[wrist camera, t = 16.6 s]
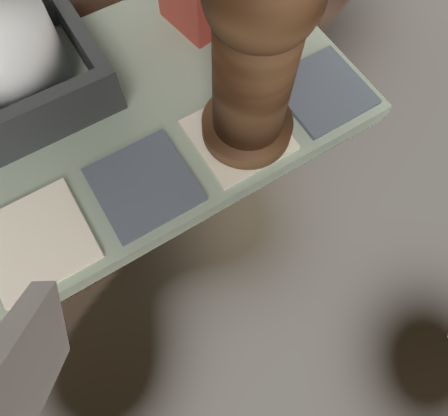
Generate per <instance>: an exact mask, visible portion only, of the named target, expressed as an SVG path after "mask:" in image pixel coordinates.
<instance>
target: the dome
mask: <svg viewBox="0 0 448 416" xmlns="http://www.w3.org/2000/svg"><path fill="white" fill-rule="evenodd" d="M69 73H70V61H69V57H68V55H67V53H66V51H65V49H64V46H63V44H62V42H61V40H60V38H59V36H58V34H57V32H56V29H55V27H54V25H53V23H52V21H51V19H50V17H49V15H48V12H47V10H46V8H45V6H44V4H43V2H42V0H0V109H3V108H5V107H7V106H9V105H12V104H14V103H16V102H18V101H21V100H23V99H25V98H28V97H30V96H32V95H34V94H37V93H39V92H41V91H43V90H46V89H48V88H50V87H53V86H55V85H57V84H59V83H62V82H64V81H66V80H68V78H69Z"/></svg>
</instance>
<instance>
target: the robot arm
mask: <svg viewBox="0 0 448 416" xmlns="http://www.w3.org/2000/svg"><path fill="white" fill-rule="evenodd" d="M447 337H448V335H447ZM69 351H70V347H69V342H68V337H67V332H66V327H65V322H64V317H63V312H62V307H61V302H60V297H59V292H58V287H57V282H56V281H31V283H30V284H29V285H28V287H27V288H26V289H25V291H24V292H23V293H22V295H21V296H20V297H19V299H18V300H17V301H16V303H15V304H14V305H13V307H12V308H11V309H10V311H9V312H8V313H7V315H6V316H5V317H4V319H3V320H2V321H1V322H0V416H40V414H41V412H42V410H43V408H44V405H45V403H46V401H47V399H48V397H49V394H50V392H51V390H52V388H53V386H54V384H55V381H56V379H57V377H58V375H59V373H60V370H61V368H62V366H63V364H64V361H65V359H66V357H67V355H68V353H69Z"/></svg>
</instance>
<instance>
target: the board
mask: <svg viewBox="0 0 448 416" xmlns="http://www.w3.org/2000/svg"><path fill="white" fill-rule="evenodd" d="M42 2H43V4H44V6H45V8H46V10H47V12H48V15H49V17H50V19H51V21H52V23H53V25H54V26H55V25H58V24H60V25H61V26H59V27H57V28H55V29H56V32H57V34H58V36H59V38H60V40H61V42H62V44H63V46H64V49H65V51H66V53H67V55H68V57H69V61H70V73H69V78H68V80H66V81H64V82H62V83H59V84H57V85H55V86H53V87H50V88H48V89H46V90H43V91H41V92H39V93H37V94H34V95H32V96H30V97H28V98H25V99H23V100H21V101H18V102H16V103H14V104H12V105H9V106H7V107H5V108H3V109H0V322H1V321H2V320H3V319H4V317H5V316H6V315H7V313H8V312H9V311H10V309H11V308H12V307H13V305H14V304H15V303H16V301H17V300H18V299H19V297H20V296H21V295H22V293H23V292H24V291H25V289H26V288H27V287H28V285H29V284H30V283H31V281H56V282H57V287H58V292H59V297H60V302H61V301H63V300H65V299H67V298H68V297H70V296H72V295H74V294H75V293H77V292H79V291H81V290H83V289H84V288H86V287H88V286H90V285H91V284H93V283H95V282H97V281H98V280H100V279H102V278H104V277H105V276H107V275H109V274H111V273H112V272H114V271H116V270H118V269H120V268H121V267H123V266H125V265H127V264H128V263H130V262H132V261H134V260H135V259H137V258H139V257H141V256H142V255H144V254H146V253H148V252H149V251H151V250H153V249H155V248H157V247H158V246H160V245H162V244H164V243H165V242H167V241H169V240H171V239H172V238H174V237H176V236H178V235H179V234H181V233H183V232H185V231H186V230H188V229H190V228H192V227H194V226H195V225H197V224H199V223H200V222H202V221H204V220H206V219H208V218H209V217H211V216H213V215H215V214H216V213H218V212H220V211H222V210H223V209H225V208H227V207H229V206H230V205H232V204H234V203H236V202H238V201H239V200H241V199H243V198H245V197H246V196H248V195H250V194H252V193H253V192H255V191H257V190H259V189H260V188H262V187H264V186H266V185H268V184H269V183H271V182H273V181H274V180H276V179H278V178H280V177H282V176H283V175H285V174H287V173H289V172H290V171H292V170H294V169H296V168H297V167H299V166H301V165H303V164H305V163H306V162H308V161H310V160H312V159H313V158H315V157H317V156H319V155H320V154H322V153H324V152H326V151H327V150H329V149H331V148H333V147H334V146H336V145H338V144H340V143H342V142H343V141H345V140H347V139H349V138H350V137H352V136H354V135H356V134H357V133H359V132H361V131H363V130H364V129H366V128H368V127H370V126H371V125H373V124H375V123H377V122H379V121H380V120H382V119H384V118H385V117H386V115H387V114H388V112H389V110H390V109H391V107H392V105H391V104H390V103H389V102H388V101H387V100H386V99H385V98H384V97H383V96H382V95H381V94H380V93H379V92H378V90H377V89H376V88H375V87H374V86H373V85H372V84H371V83H370V82H369V81H368V80H367V79H366V78H365V77H364V76H363V75H362V73H360V71H359V70H358V69H357V68H356V67H355V66H354V65H353V64H352V63H351V62H350V61H349V60H348V58H347V57H345V55H344V54H343V53H342V52H341V51H340V50H339V49H338V48H337V47H336V46H335V45H334V44H333V42H332V41H330V39H329V38H328V37H327V36H326V35H325V34H324V33H323V32H322V31H321V30H320V29H319V28H318V26H316V27H315V29H314V30H313V31H312V33H311V34H310V35H309V36H308V37H307V38H306V40H305V44H304V48H303V51H302V55H301V59H300V63H299V66H298V70H297V74H296V78H295V81H294V85H293V89H292V92H291V96H290V100H289V104H288V106H289V108H290V110H291V112H292V115H293V122H294V126H293V132H292V135H291V138H290V142H289V145H288V147H287V149H286V151H285V152H284V154H283V155H282V156H281V157H280V158H279V159H278V160H277V161H276V162H274V163H272V164H271V165H269V166H267V167H264V168H261V169H256V170H240V169H235V168H231V167H229V166H226V165H224V164H223V163H221V162H219V161H218V160H217V159H215V158H214V157H213V156H212V155H211V153H210V152H209V151H208V149H207V148H206V146H205V143H204V141H203V136H202V113H203V110H204V108H205V105H206V104H207V102H208V101H209V100H210V98H211V97H212V56H211V42H210V43H209V44H207V45H206V46H204V47H203V48H201V49H199V48H197V47H196V46H195V45H194V44H193V43H192V42H191V41H190V40H189V39H187V38H186V37H185V36H184V35H183V34H182V33H181V32H180V31H178V30H177V29H176V28H175V27H174V26H173V25H172V24H171V23H170V22H168V21H167V20H166V19H165V18H164V17H163V16H162V15H161V14H160V9H159V3H158V0H123V1H121V2H118V3H116V4H113V5H111V6H108V7H106V8H103V9H101V10H98V11H96V12H94V13H91V14H89V15H86V16H84V17H81V18H80V16H79V15H78V13H77V12H76V10H75V8H74V7H73V5H72V4H71V2H70V1H69V0H42Z"/></svg>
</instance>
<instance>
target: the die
mask: <svg viewBox="0 0 448 416" xmlns="http://www.w3.org/2000/svg"><path fill="white" fill-rule="evenodd" d="M158 3H159V9H160V14H161V15H162V16H163V17H164V18H165V19H166V20H167V21H168V22H170V23H171V24H172V25H173V26H174V27H175V28H176V29H177V30H178V31H180V32H181V33H182V34H183V35H184V36H185V37H186V38H187V39H189V40H190V41H191V42H192V43H193V44H194V45H195V46H196V47H197V48H199V49H201V48H203V47H204V46H206V45H207V44H209V43H210V42H211V27H210V26H209V24H208V22H207V20H206V18H205V15H204V13H203V9H202V5H201V2H200V0H158Z"/></svg>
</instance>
